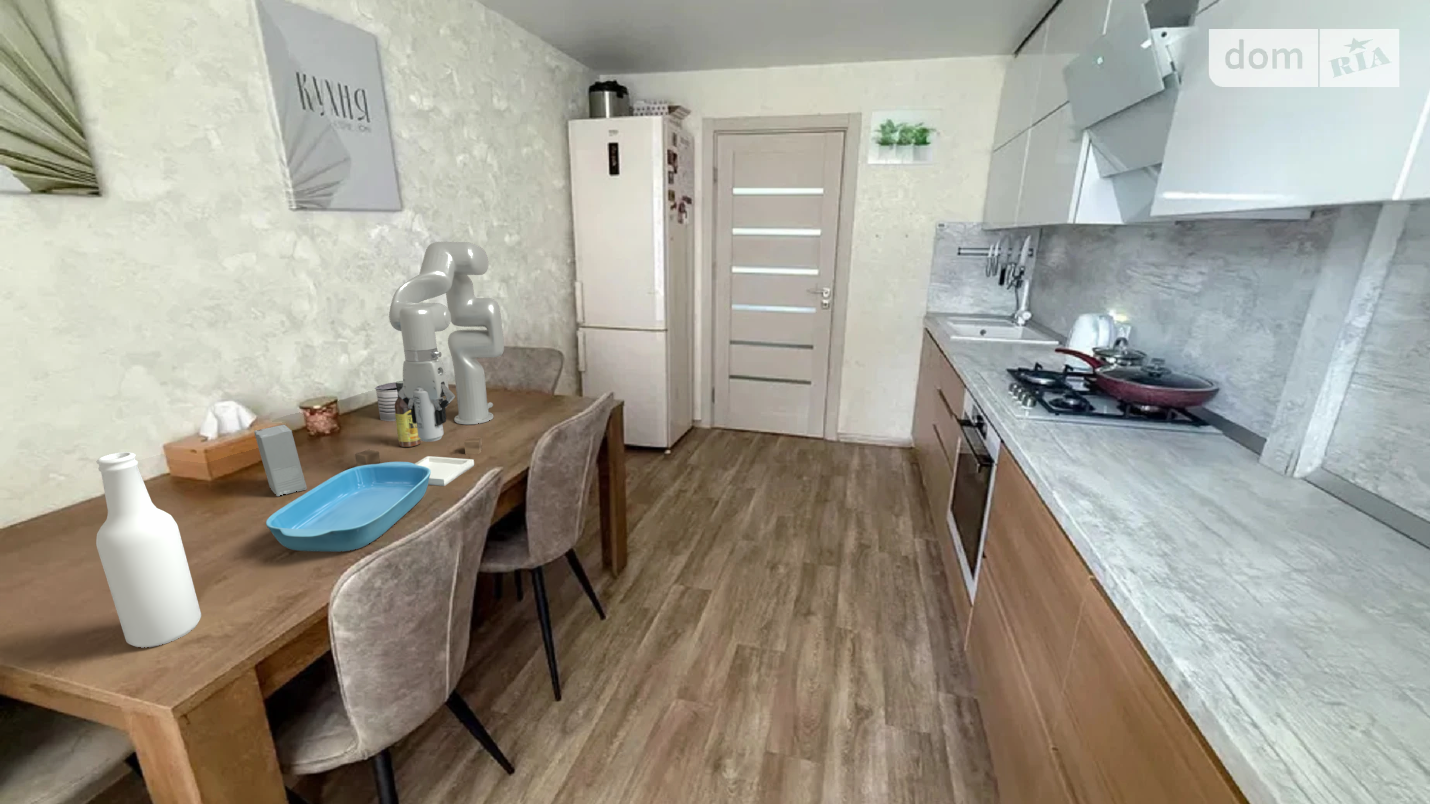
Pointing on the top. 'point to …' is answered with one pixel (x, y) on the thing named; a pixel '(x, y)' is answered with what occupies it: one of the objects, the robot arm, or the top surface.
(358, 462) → the walnut block
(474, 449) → the walnut block
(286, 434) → the skincare box
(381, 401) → the striped cup
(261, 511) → the top surface
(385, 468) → the casserole dish
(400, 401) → the sauce bottle
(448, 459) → the tray
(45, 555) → the top surface
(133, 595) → the alcohol
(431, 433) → the energy drink can
